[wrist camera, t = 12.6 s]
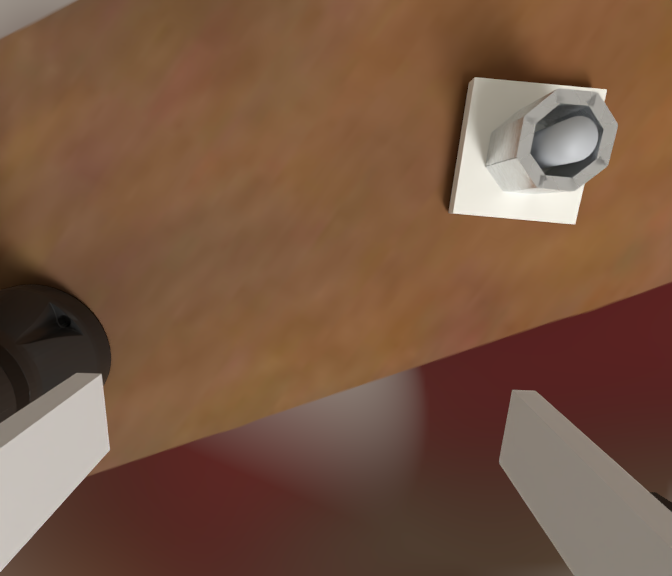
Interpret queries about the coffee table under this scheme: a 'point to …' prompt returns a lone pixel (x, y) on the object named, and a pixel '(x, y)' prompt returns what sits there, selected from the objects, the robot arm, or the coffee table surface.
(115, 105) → the coffee table surface
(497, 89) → the post
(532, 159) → the tube
